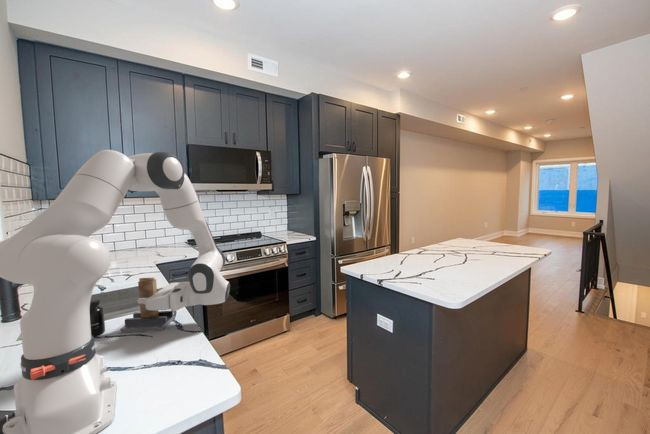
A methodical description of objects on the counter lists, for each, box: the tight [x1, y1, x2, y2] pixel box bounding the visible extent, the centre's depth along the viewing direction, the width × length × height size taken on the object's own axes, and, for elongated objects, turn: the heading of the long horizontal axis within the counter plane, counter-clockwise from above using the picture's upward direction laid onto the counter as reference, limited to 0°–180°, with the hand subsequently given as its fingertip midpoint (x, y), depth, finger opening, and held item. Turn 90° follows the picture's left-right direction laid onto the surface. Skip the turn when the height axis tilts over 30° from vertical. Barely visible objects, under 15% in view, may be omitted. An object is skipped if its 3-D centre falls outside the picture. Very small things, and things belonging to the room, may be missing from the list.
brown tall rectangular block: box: [137, 276, 159, 318], centre depth 105 cm, size 5×2×16 cm, turn 95°
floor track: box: [119, 310, 176, 334], centre depth 105 cm, size 14×10×4 cm
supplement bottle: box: [90, 298, 106, 338], centre depth 99 cm, size 7×7×12 cm
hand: (145, 295), depth 105 cm, fingers open, 8 cm apart
